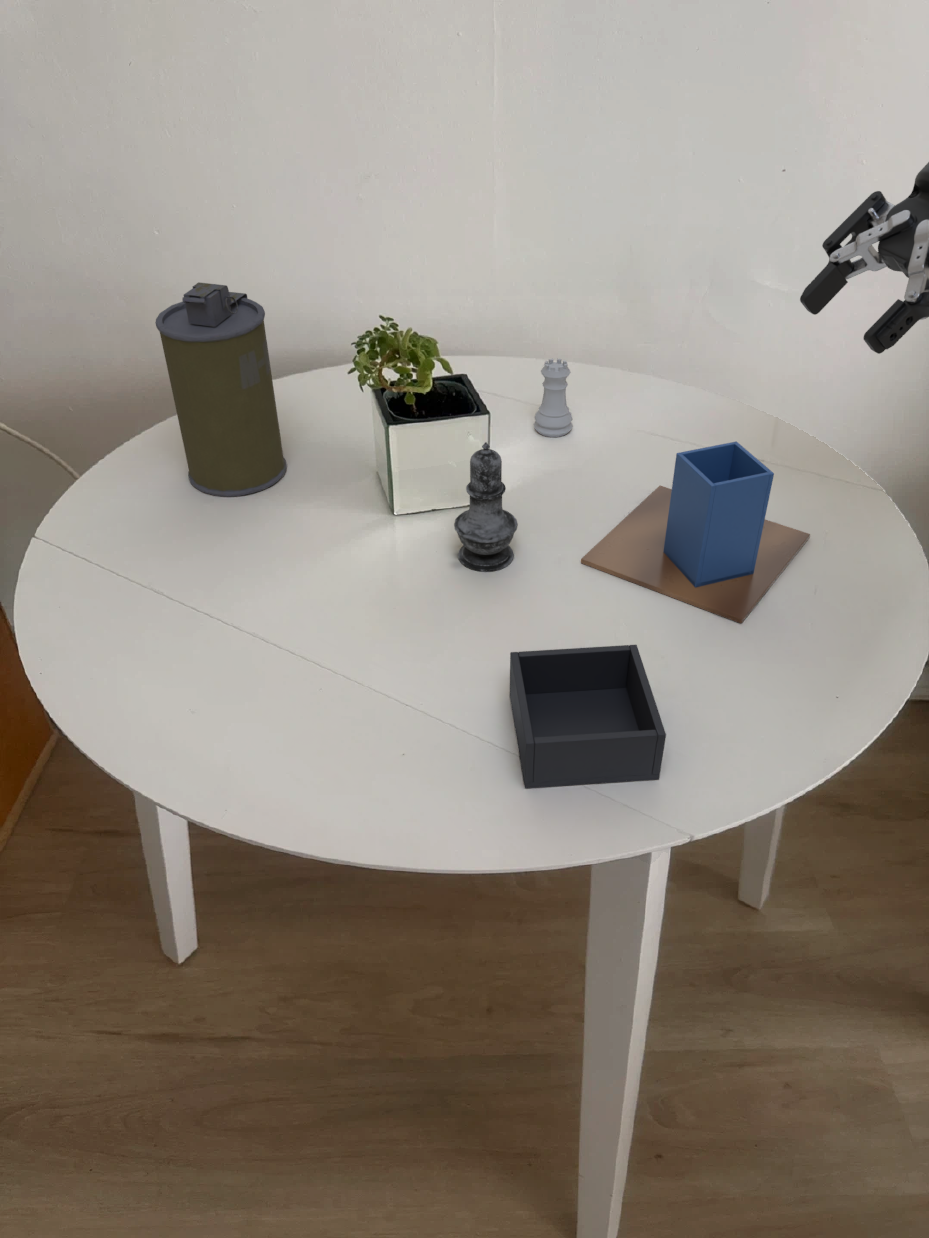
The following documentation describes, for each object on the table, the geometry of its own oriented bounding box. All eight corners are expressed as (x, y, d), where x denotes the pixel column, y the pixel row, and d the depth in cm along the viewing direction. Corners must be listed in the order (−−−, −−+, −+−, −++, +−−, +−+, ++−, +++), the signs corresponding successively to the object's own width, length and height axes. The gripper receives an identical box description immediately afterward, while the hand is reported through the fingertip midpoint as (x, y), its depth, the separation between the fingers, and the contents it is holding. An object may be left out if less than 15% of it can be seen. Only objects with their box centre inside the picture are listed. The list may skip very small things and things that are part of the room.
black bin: (631, 688, 80) (636, 644, 77) (659, 779, 72) (666, 734, 69) (509, 695, 79) (510, 651, 76) (524, 788, 71) (526, 743, 69)
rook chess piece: (579, 425, 114) (583, 360, 109) (561, 442, 111) (564, 375, 106) (545, 416, 116) (547, 351, 111) (526, 432, 113) (528, 366, 108)
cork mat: (809, 538, 96) (810, 533, 95) (741, 624, 86) (742, 619, 85) (659, 489, 103) (659, 485, 103) (580, 563, 93) (580, 558, 93)
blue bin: (719, 539, 95) (736, 441, 88) (753, 574, 90) (774, 473, 84) (663, 551, 93) (676, 453, 87) (695, 587, 89) (711, 486, 82)
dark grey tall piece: (446, 567, 93) (443, 454, 85) (465, 534, 97) (463, 423, 90) (507, 578, 91) (509, 463, 84) (523, 543, 96) (526, 431, 88)
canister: (259, 503, 102) (227, 314, 90) (170, 488, 105) (127, 302, 92) (304, 453, 110) (281, 273, 98) (220, 440, 113) (187, 263, 100)
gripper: (915, 107, 79) (765, 270, 84) (1052, 149, 69) (873, 332, 73) (950, 171, 84) (807, 322, 88) (1084, 219, 74) (914, 387, 78)
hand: (837, 326), depth 81 cm, fingers open, 8 cm apart
